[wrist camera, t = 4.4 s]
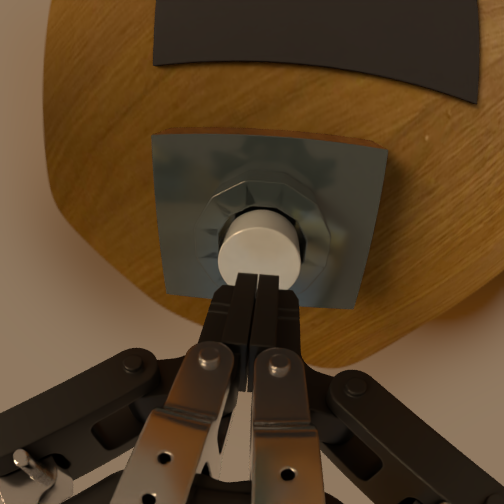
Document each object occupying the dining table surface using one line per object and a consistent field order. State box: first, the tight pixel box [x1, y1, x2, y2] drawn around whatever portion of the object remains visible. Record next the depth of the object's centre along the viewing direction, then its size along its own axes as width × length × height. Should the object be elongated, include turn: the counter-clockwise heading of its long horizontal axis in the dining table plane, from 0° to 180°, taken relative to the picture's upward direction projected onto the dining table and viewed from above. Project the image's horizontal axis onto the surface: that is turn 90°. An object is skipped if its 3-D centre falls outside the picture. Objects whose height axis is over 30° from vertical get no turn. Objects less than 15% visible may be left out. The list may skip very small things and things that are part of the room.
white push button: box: [218, 210, 301, 290], centre depth 14 cm, size 4×4×2 cm
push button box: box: [151, 127, 388, 309], centre depth 17 cm, size 12×10×5 cm
